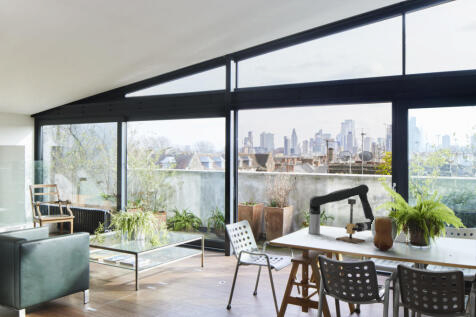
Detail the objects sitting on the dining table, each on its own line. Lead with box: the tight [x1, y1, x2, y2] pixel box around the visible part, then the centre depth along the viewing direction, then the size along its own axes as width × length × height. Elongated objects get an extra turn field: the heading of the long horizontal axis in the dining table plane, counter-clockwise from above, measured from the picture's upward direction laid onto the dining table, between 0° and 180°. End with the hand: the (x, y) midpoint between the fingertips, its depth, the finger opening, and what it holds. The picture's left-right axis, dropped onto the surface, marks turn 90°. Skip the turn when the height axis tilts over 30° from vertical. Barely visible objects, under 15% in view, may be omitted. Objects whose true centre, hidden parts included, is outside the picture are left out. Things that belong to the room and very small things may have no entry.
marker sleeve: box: [345, 222, 356, 235], centre depth 344 cm, size 5×5×8 cm
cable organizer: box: [394, 231, 406, 243], centre depth 348 cm, size 15×11×12 cm
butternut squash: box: [373, 215, 394, 252], centre depth 311 cm, size 14×13×25 cm
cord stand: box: [335, 198, 366, 244], centre depth 344 cm, size 18×14×34 cm
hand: (349, 228), depth 342 cm, fingers open, 6 cm apart
